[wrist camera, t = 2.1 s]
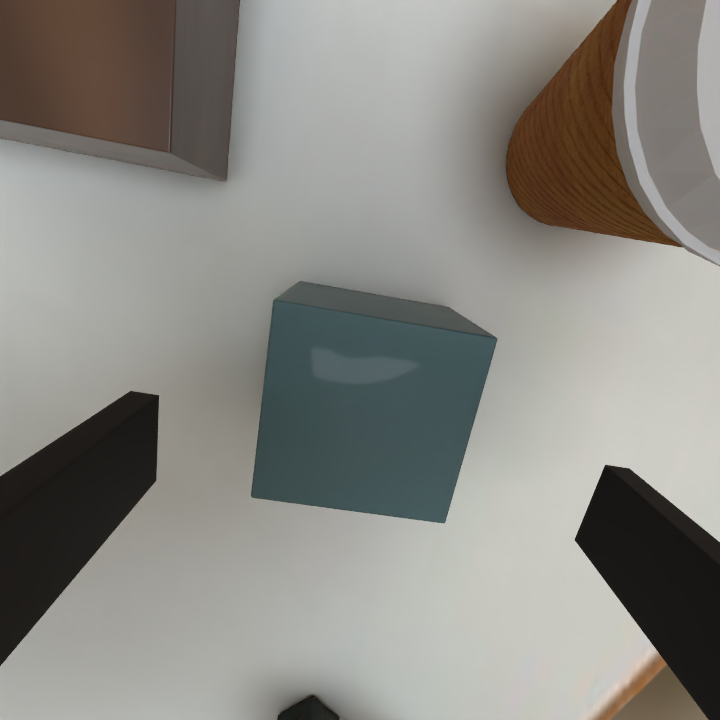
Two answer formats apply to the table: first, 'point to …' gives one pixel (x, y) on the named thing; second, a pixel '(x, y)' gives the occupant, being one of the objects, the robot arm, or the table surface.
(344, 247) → the table surface
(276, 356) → the slate-teal block
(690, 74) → the disposable coffee cup
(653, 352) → the table surface
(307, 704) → the ceramic cat
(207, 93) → the mauve-gray square block
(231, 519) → the table surface
